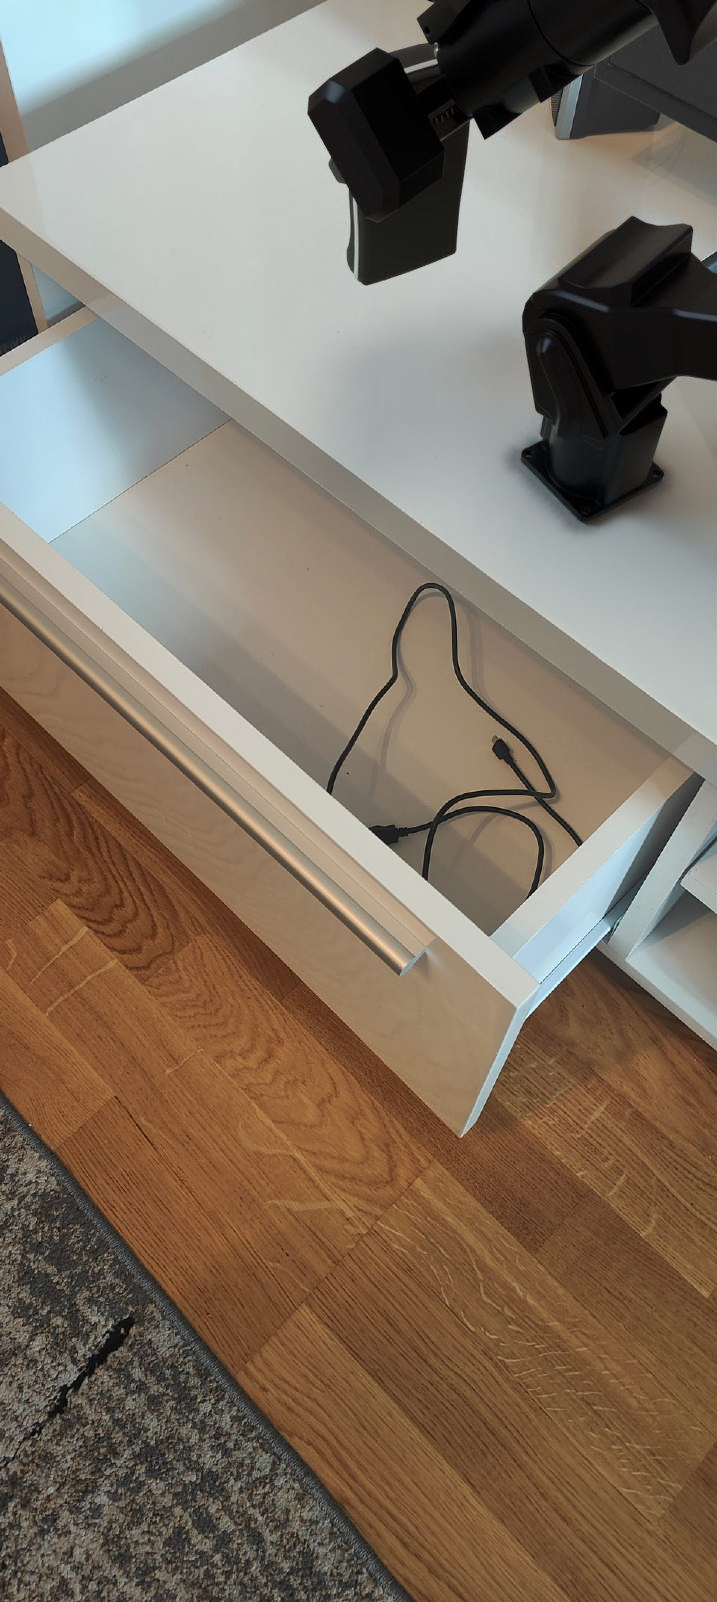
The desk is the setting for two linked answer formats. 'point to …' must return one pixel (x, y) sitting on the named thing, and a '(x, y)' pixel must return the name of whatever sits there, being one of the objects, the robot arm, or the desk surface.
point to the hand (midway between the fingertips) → (379, 140)
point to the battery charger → (413, 200)
